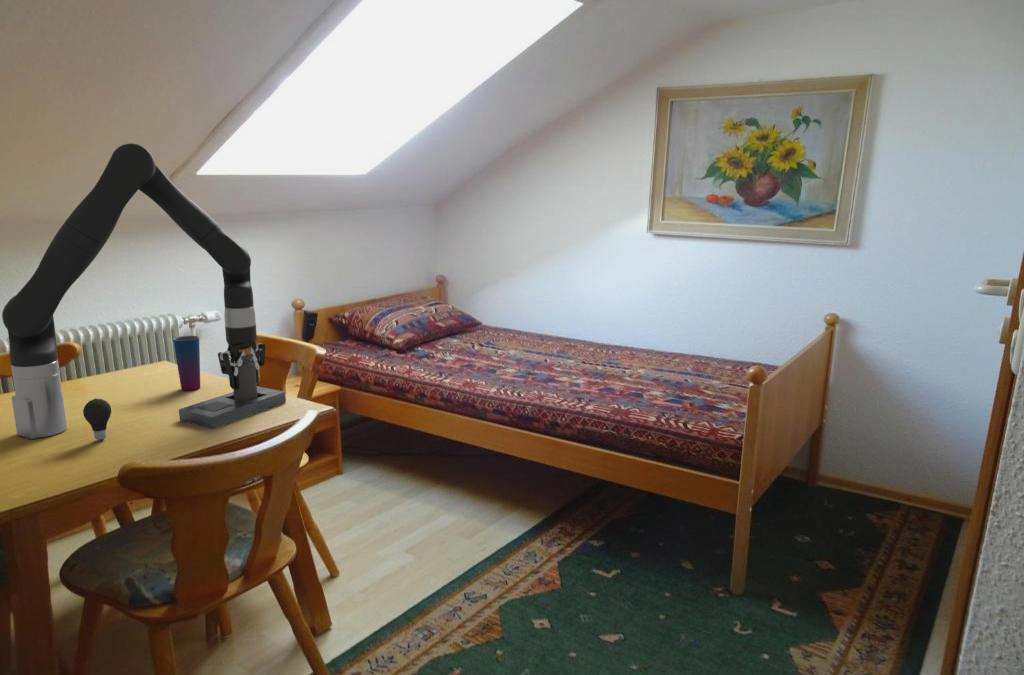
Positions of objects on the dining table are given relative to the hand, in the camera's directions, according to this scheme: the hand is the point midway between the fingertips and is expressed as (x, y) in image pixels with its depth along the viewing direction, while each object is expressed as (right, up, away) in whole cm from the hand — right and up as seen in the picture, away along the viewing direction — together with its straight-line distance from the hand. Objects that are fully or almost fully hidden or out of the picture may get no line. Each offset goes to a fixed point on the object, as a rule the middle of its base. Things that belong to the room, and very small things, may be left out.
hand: (244, 385), depth 190 cm
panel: (-2, -6, -2) cm, 7 cm away
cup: (-22, -2, +17) cm, 28 cm away
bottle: (0, -5, +1) cm, 5 cm away
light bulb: (-25, -11, -23) cm, 36 cm away
